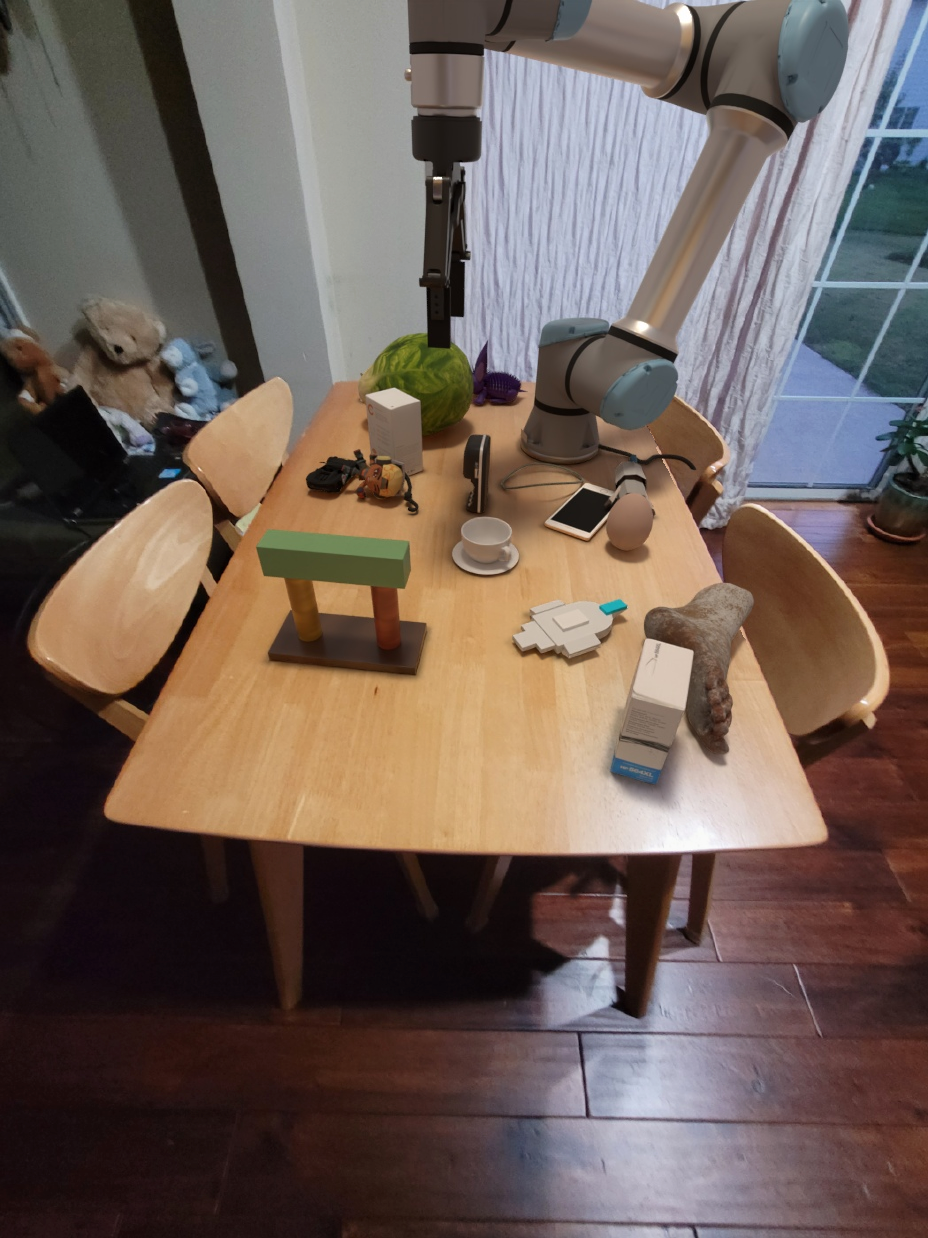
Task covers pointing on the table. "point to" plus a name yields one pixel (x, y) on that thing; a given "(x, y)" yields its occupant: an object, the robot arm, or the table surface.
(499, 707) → the table surface
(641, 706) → the ink box
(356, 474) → the toy
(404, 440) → the small box
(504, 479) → the loop
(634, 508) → the egg
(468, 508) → the battery charger
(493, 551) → the teacup
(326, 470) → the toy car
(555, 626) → the toy rocket
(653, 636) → the sculpture
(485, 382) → the creature
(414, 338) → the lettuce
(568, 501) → the cell phone
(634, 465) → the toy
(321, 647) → the rods
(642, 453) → the table surface
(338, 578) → the bar
